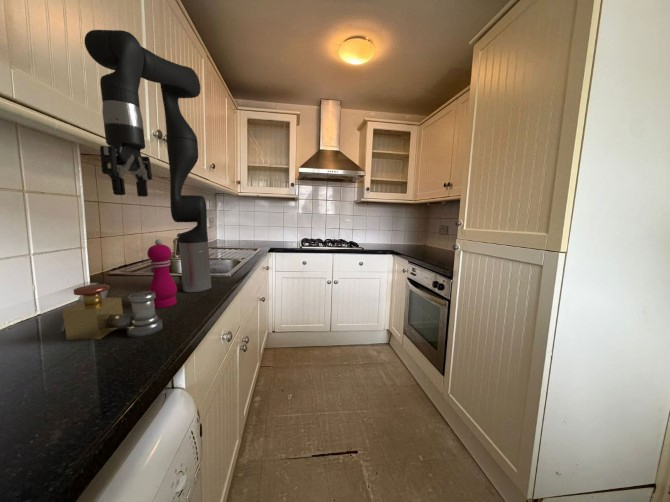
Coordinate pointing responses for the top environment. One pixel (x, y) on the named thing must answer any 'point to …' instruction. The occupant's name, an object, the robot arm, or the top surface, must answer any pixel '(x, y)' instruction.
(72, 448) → the top surface
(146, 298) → the door knob
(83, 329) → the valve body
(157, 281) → the pepper mill
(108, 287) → the hinge
